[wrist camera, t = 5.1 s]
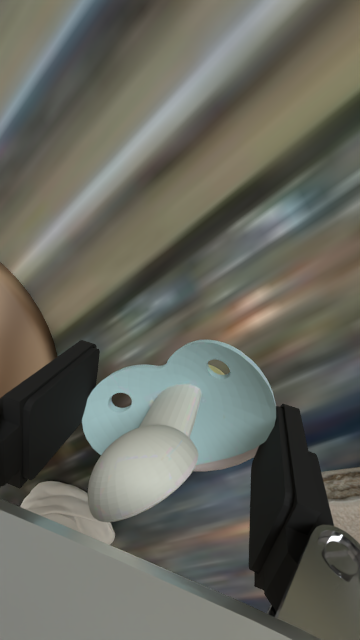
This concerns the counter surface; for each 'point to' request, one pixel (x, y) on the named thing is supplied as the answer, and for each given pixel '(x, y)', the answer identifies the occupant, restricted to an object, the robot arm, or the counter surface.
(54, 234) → the counter surface
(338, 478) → the washcloth
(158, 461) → the pacifier
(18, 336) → the walnut board
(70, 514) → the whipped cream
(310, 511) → the robot arm
